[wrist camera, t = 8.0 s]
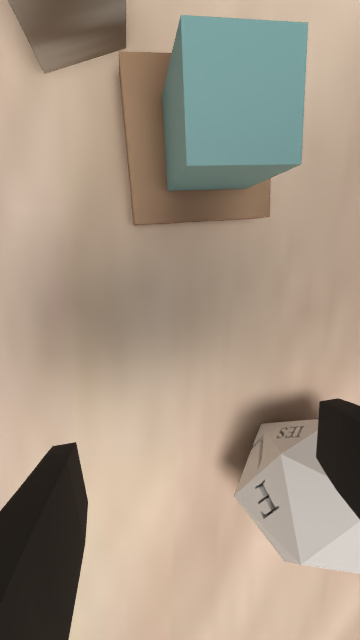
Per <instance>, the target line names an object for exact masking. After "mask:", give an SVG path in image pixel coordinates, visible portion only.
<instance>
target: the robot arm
mask: <svg viewBox="0 0 360 640" xmlns="http://www.w3.org/2000/svg"><path fill="white" fill-rule="evenodd" d="M316 458H317V460H318V462H319V463H320V465H321V467H322V468H323V470H324V472H325V473H326V475H327V477H328V478H329V480H330V481H331V483H332V484H333V486H334V487H335V489H336V490H337V492H338V493H339V494H340V495H341V497H342V498H343V499H344V500H345V502H346V503H347V504H348V506H349V507H350V508H351V509H352V511H353V512H354V513H355V514H356V516H357V517H358V518H359V519H360V406H358V405H356V404H353V403H350V402H347V401H344V400H341V399H332V400H326V401H320V405H319V419H318V433H317V448H316ZM87 508H88V500H87V495H86V490H85V485H84V480H83V475H82V470H81V465H80V460H79V455H78V450H77V445H76V442H75V443H69V444H63V445H57V446H53V447H52V448H51V449H50V450H49V451H48V453H47V454H46V455H45V456H44V457H43V459H42V460H41V461H40V463H39V464H38V465H37V466H36V468H35V469H34V470H33V471H32V473H31V474H30V475H29V476H28V478H27V479H26V480H25V482H24V483H23V484H22V485H21V487H20V488H19V489H18V490H17V491H16V493H15V494H14V495H13V496H12V498H11V499H10V500H9V501H8V502H7V504H6V505H5V506H4V507H3V508H2V510H1V511H0V640H68V639H69V633H70V627H71V622H72V616H73V610H74V605H75V599H76V593H77V588H78V582H79V576H80V570H81V564H82V559H83V553H84V547H85V537H86V524H87Z"/></svg>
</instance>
